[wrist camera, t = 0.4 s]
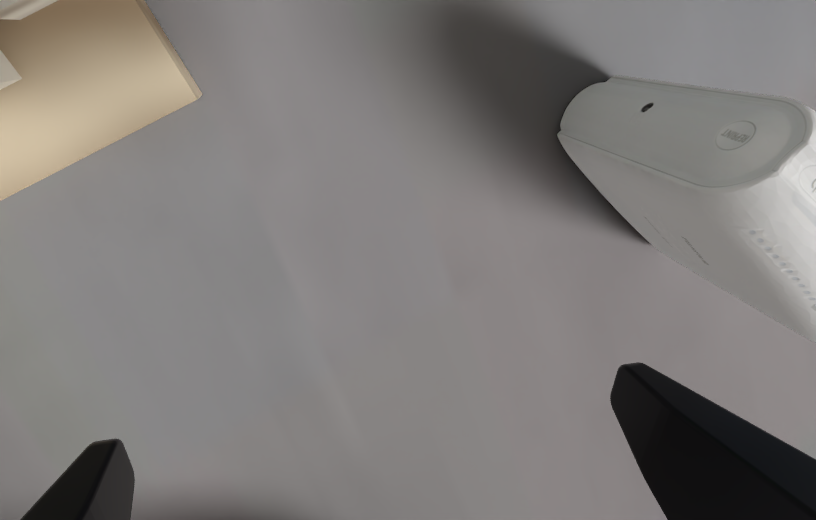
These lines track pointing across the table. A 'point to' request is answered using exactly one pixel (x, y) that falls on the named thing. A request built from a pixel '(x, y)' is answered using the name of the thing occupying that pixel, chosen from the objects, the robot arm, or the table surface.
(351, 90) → the table surface
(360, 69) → the table surface
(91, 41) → the base
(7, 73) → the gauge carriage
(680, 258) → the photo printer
